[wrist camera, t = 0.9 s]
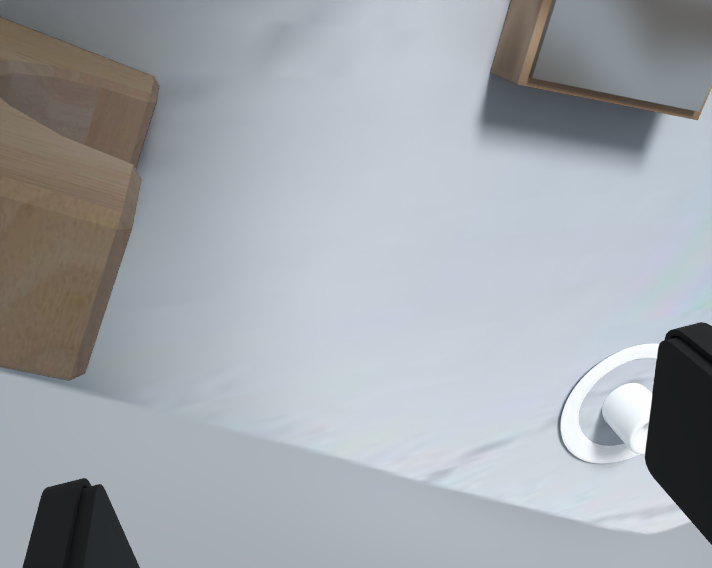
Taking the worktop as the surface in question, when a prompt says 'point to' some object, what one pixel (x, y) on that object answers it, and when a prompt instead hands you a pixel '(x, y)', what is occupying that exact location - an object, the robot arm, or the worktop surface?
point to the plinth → (612, 51)
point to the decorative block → (63, 194)
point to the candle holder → (611, 412)
